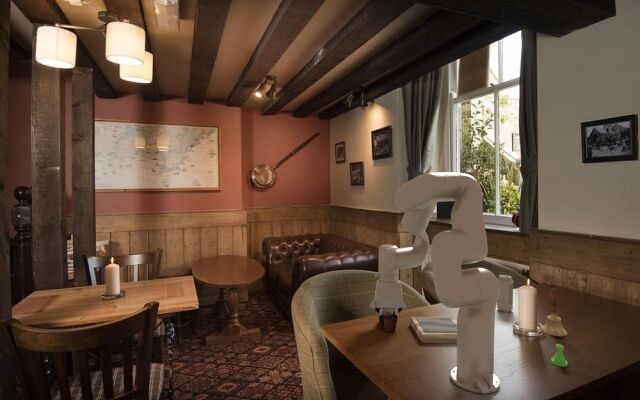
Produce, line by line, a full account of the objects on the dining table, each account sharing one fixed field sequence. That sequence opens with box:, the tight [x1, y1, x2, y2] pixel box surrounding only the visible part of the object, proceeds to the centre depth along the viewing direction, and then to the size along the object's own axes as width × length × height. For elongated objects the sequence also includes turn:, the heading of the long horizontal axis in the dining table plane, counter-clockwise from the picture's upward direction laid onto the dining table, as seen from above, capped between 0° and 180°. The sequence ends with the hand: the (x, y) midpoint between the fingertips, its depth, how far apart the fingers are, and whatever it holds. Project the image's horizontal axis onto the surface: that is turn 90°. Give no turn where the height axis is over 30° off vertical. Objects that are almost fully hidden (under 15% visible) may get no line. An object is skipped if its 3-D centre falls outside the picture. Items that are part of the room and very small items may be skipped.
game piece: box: [550, 343, 569, 368], centre depth 110 cm, size 4×4×6 cm
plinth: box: [410, 316, 457, 344], centre depth 132 cm, size 16×16×3 cm
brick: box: [382, 310, 397, 333], centre depth 138 cm, size 11×4×5 cm, turn 2°
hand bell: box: [540, 288, 568, 337], centre depth 132 cm, size 8×8×16 cm
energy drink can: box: [496, 274, 514, 313], centre depth 154 cm, size 6×6×15 cm
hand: (388, 323), depth 138 cm, fingers closed on brick, 4 cm apart
